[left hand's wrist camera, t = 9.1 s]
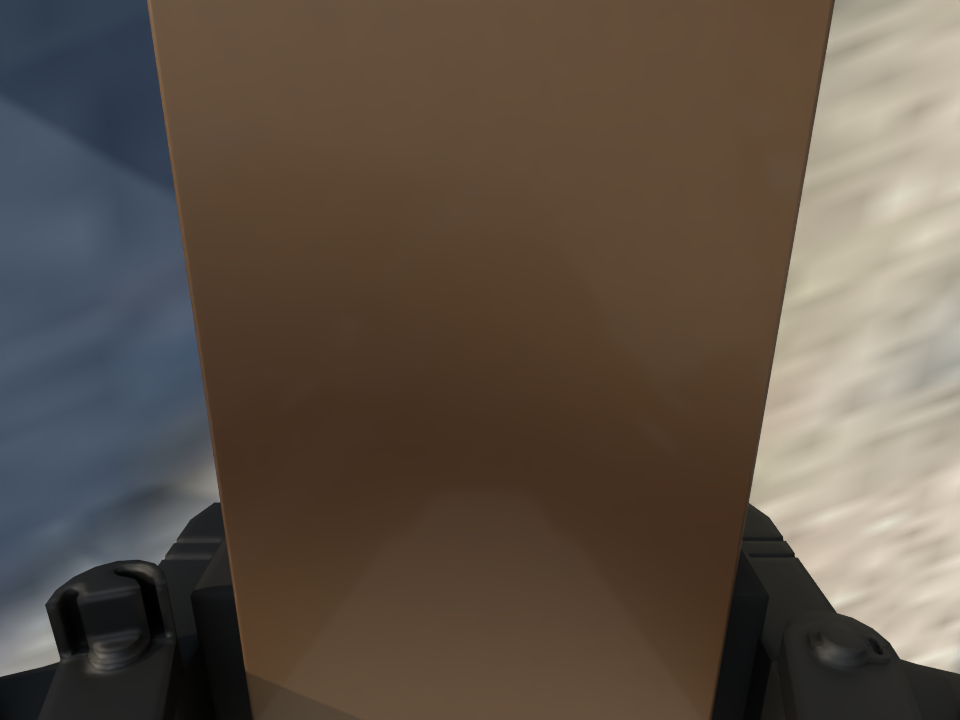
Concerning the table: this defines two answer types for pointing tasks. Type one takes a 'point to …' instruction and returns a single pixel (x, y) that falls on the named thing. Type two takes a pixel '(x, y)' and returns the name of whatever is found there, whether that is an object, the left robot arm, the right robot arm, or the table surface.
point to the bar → (486, 336)
